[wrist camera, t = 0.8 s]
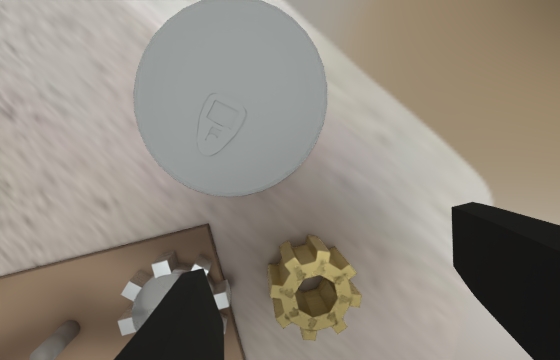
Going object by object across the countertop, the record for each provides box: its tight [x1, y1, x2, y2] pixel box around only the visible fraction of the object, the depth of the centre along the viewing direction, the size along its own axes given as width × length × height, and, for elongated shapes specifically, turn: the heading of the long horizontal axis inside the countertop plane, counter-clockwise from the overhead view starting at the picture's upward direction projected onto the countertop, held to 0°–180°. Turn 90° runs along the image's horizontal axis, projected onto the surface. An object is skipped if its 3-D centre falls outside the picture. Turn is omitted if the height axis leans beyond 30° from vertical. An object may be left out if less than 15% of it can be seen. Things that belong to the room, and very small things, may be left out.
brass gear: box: [267, 235, 362, 341], centre depth 24 cm, size 6×6×4 cm
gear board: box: [0, 224, 245, 360], centre depth 23 cm, size 11×16×4 cm
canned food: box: [134, 0, 327, 197], centre depth 19 cm, size 8×8×11 cm
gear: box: [118, 250, 231, 336], centre depth 23 cm, size 7×7×2 cm
